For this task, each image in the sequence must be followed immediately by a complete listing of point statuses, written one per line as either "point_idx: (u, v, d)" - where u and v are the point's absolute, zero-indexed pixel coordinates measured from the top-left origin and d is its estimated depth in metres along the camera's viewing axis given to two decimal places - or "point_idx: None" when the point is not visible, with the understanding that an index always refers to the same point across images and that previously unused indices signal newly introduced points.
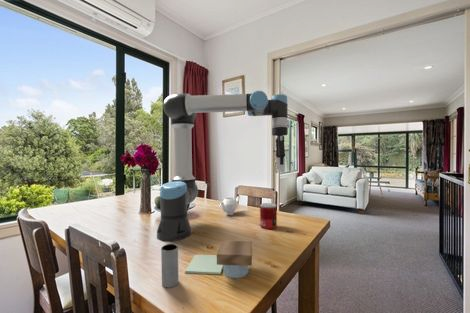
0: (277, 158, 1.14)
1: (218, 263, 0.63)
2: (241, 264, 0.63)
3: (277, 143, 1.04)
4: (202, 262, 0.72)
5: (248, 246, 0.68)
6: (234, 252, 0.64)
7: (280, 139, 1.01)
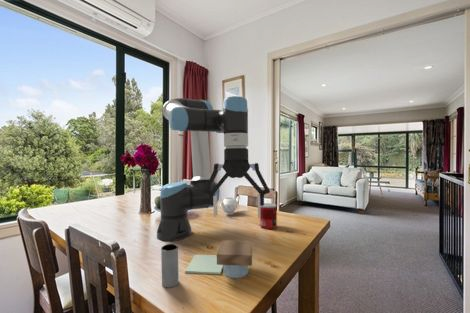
0: None
1: (218, 263, 0.63)
2: (241, 264, 0.63)
3: None
4: (202, 262, 0.72)
5: (248, 246, 0.68)
6: (234, 252, 0.64)
7: None
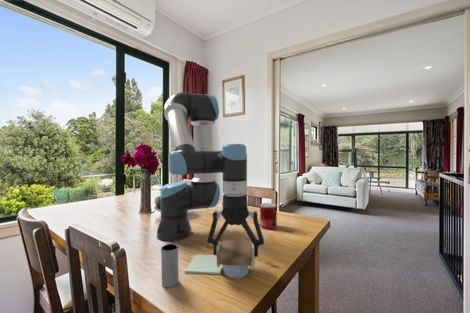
0: (252, 246, 0.68)
1: (218, 263, 0.63)
2: (241, 264, 0.63)
3: None
4: (202, 262, 0.72)
5: (248, 246, 0.68)
6: (234, 252, 0.64)
7: None
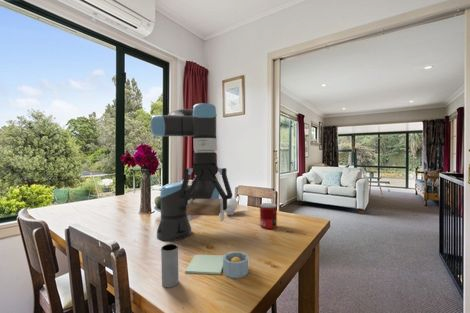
0: None
1: (187, 214, 0.68)
2: (209, 214, 0.67)
3: None
4: (202, 262, 0.72)
5: (218, 201, 0.72)
6: (203, 204, 0.69)
7: None
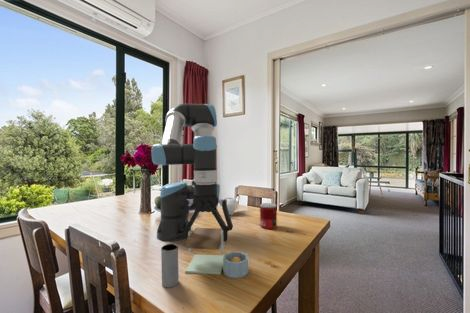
0: None
1: (188, 247, 0.68)
2: (209, 248, 0.67)
3: None
4: (202, 262, 0.72)
5: (218, 232, 0.72)
6: (203, 237, 0.69)
7: None
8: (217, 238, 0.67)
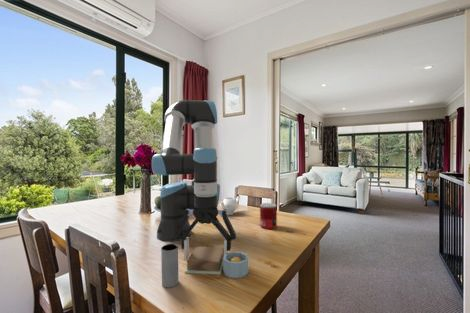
0: (225, 241, 0.72)
1: (188, 269, 0.68)
2: (209, 270, 0.67)
3: None
4: None
5: (218, 253, 0.73)
6: (204, 258, 0.69)
7: None
8: (217, 260, 0.68)
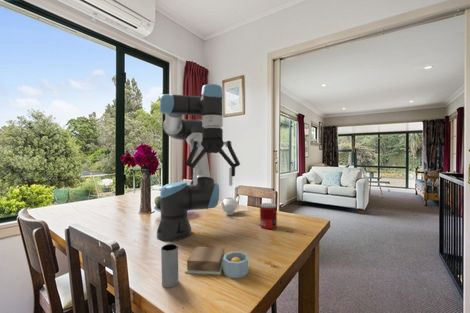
0: None
1: (188, 269, 0.68)
2: (209, 270, 0.67)
3: None
4: None
5: (218, 253, 0.73)
6: (204, 258, 0.69)
7: None
8: (217, 260, 0.68)
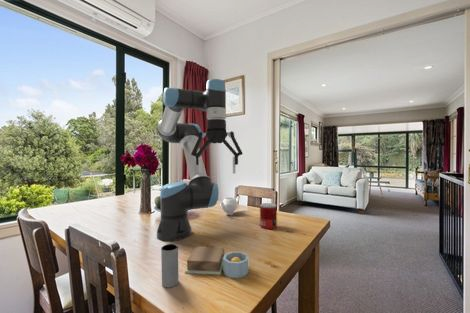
0: None
1: (188, 269, 0.68)
2: (209, 270, 0.67)
3: None
4: None
5: (218, 253, 0.73)
6: (204, 258, 0.69)
7: None
8: (217, 260, 0.68)
